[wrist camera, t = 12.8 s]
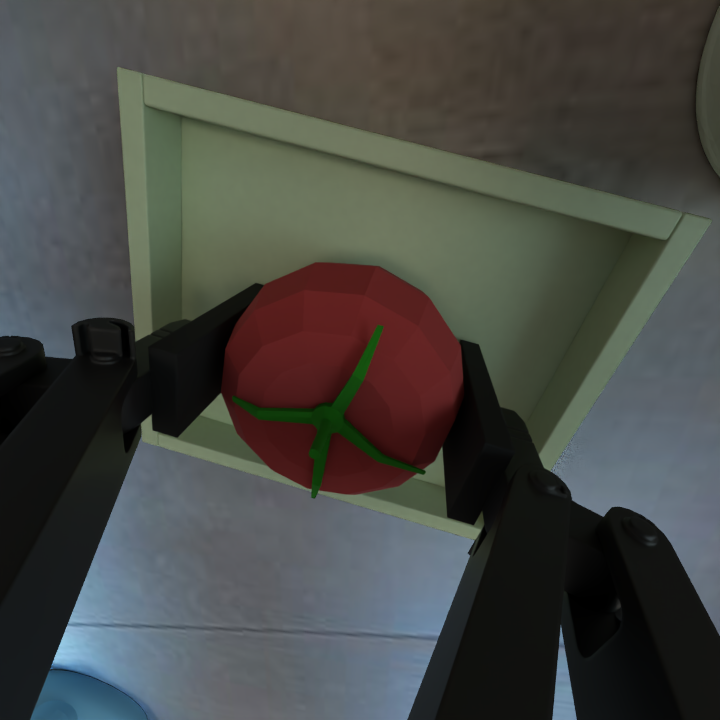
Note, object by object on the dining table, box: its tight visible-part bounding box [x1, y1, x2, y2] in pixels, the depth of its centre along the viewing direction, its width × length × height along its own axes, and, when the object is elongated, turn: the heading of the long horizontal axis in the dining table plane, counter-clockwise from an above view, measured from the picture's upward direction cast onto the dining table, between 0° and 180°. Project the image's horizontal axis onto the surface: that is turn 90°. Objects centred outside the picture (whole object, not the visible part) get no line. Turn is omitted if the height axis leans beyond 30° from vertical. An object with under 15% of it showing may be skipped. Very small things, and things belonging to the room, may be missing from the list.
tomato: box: [221, 262, 464, 498], centre depth 12 cm, size 8×8×8 cm
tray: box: [117, 67, 712, 540], centre depth 15 cm, size 18×15×3 cm
